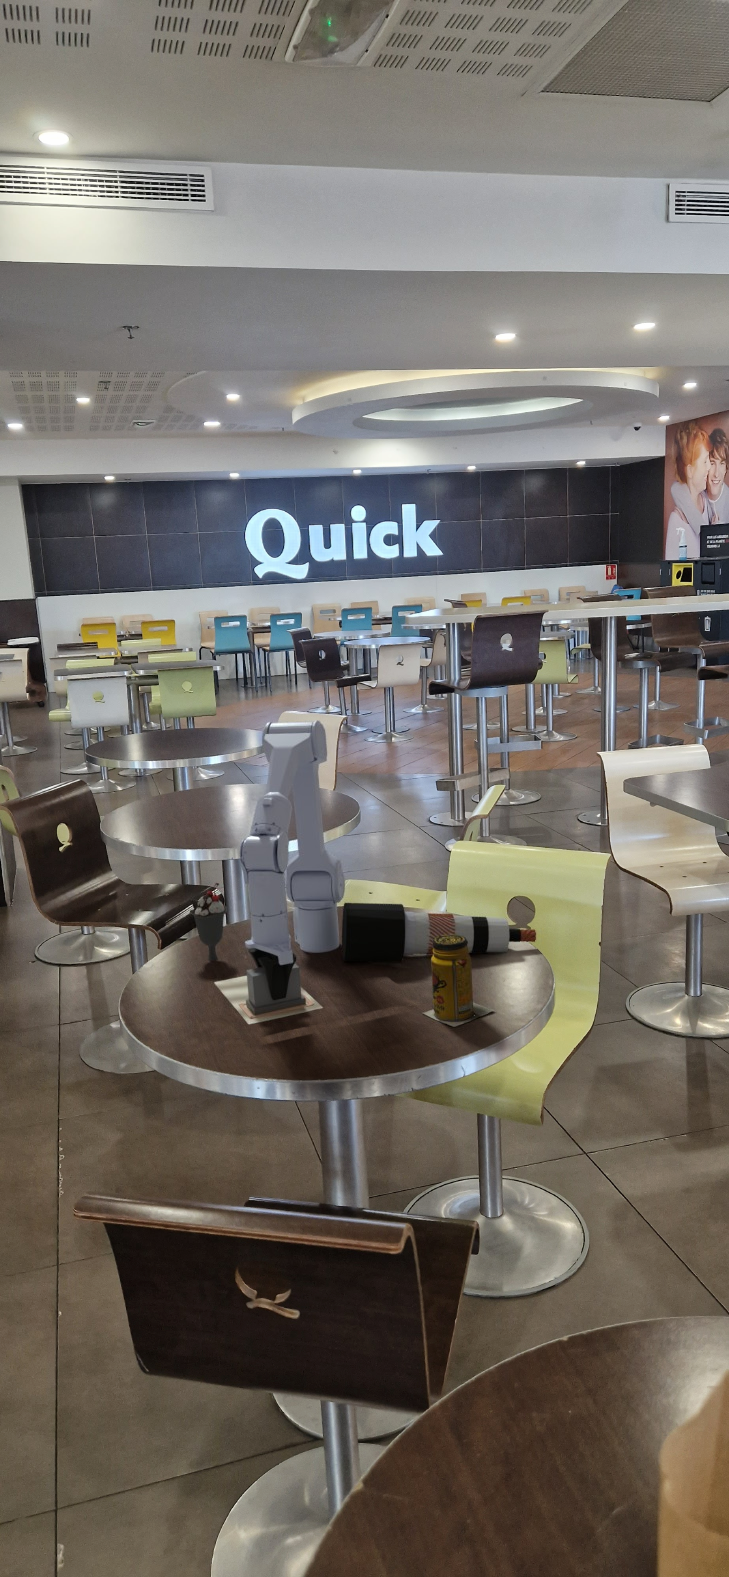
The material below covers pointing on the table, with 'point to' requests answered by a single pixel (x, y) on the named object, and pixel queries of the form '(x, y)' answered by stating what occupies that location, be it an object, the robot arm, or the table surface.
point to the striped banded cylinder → (417, 932)
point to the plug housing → (260, 988)
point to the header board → (239, 999)
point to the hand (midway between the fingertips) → (275, 994)
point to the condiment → (453, 982)
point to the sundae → (209, 920)
